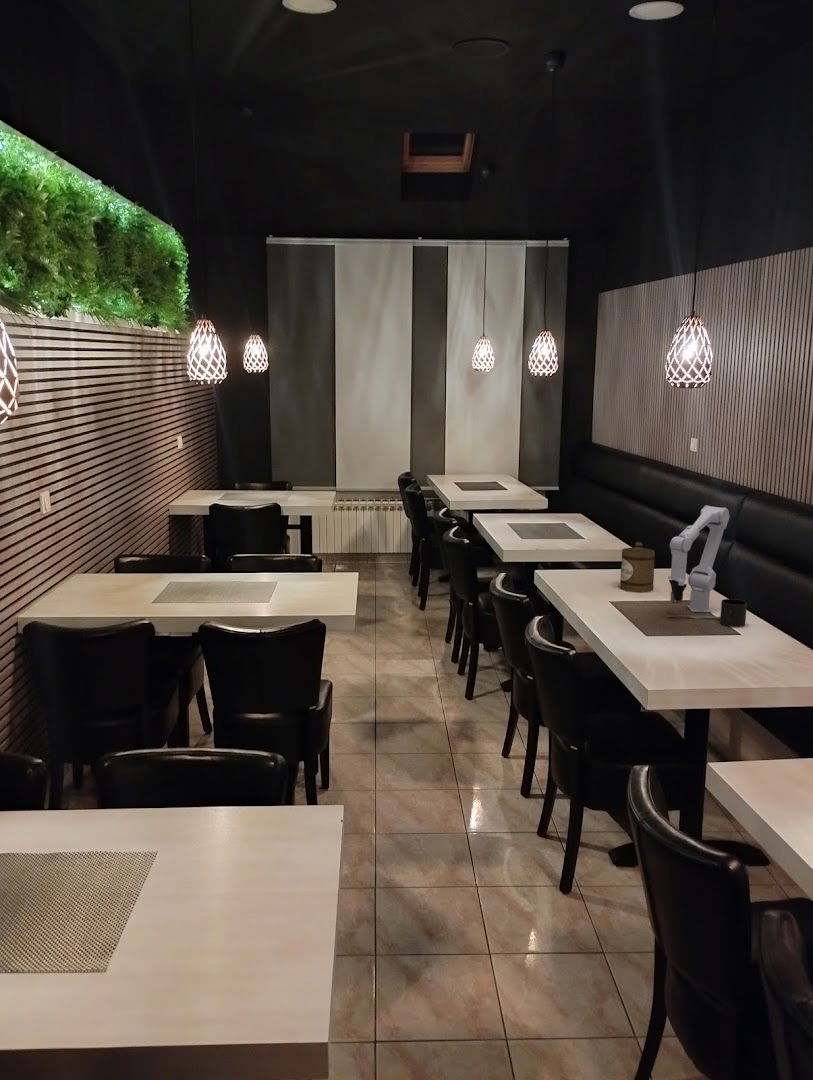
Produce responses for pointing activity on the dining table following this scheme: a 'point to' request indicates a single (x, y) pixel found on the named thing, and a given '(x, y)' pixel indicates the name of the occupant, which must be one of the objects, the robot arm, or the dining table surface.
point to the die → (675, 600)
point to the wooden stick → (694, 617)
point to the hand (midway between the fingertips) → (676, 598)
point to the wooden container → (637, 569)
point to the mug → (733, 612)
